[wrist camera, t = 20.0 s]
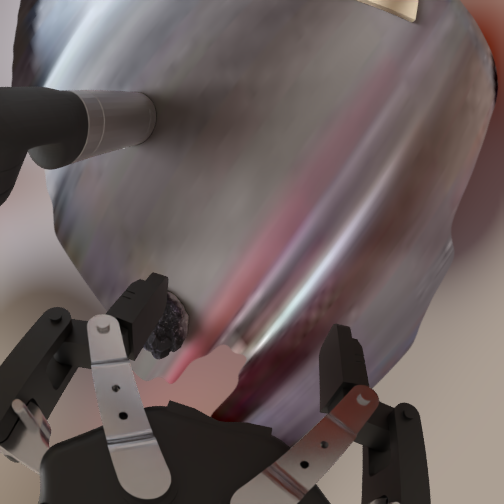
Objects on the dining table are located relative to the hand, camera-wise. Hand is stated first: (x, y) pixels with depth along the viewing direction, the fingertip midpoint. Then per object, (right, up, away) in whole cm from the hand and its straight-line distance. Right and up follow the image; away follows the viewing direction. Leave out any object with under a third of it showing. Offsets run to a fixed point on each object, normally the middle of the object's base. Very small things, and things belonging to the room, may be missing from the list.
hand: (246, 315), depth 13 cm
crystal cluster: (-19, -9, +45) cm, 50 cm away
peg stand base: (+18, +48, +11) cm, 52 cm away
